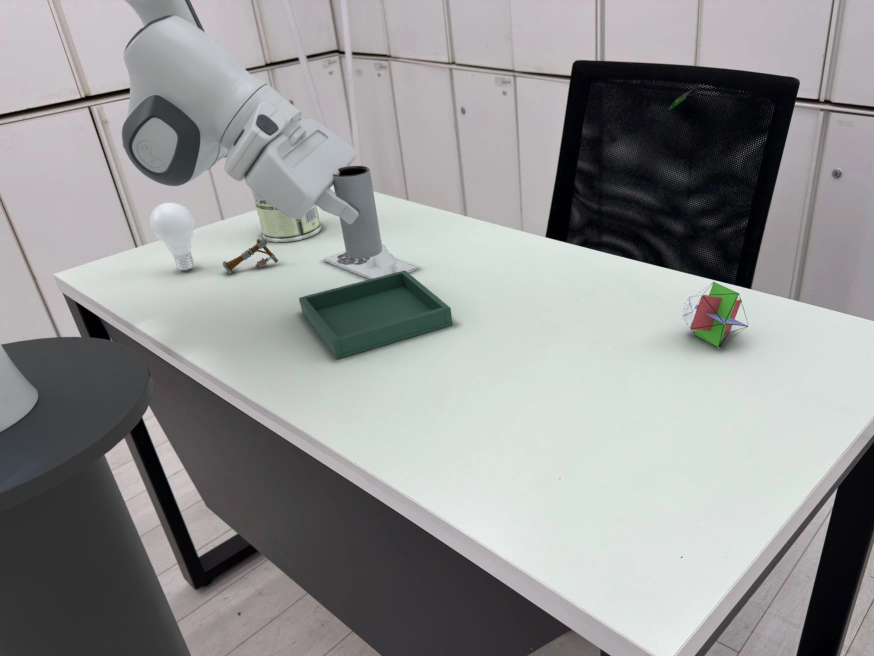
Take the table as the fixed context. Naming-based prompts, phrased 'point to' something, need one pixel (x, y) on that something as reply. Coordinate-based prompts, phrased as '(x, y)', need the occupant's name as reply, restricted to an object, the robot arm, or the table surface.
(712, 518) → the table surface
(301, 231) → the coffee can
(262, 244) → the wooden post with brackets
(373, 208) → the planter
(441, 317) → the tray
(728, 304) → the geometric puzzle
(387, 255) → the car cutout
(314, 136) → the robot arm
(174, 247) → the lightbulb
